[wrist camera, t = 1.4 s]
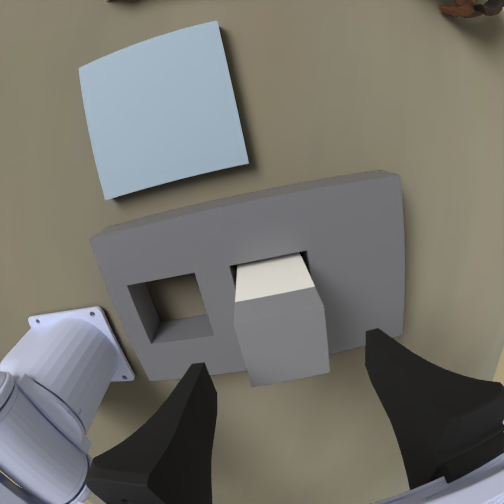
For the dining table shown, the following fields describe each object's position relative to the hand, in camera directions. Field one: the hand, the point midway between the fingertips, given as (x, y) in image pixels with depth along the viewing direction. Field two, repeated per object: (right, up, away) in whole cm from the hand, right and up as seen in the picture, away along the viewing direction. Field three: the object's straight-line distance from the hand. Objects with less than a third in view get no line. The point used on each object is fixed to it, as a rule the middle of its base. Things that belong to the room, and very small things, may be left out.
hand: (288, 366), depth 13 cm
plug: (0, +3, +9) cm, 10 cm away
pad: (-8, +14, +5) cm, 17 cm away
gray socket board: (-1, +3, +9) cm, 10 cm away
